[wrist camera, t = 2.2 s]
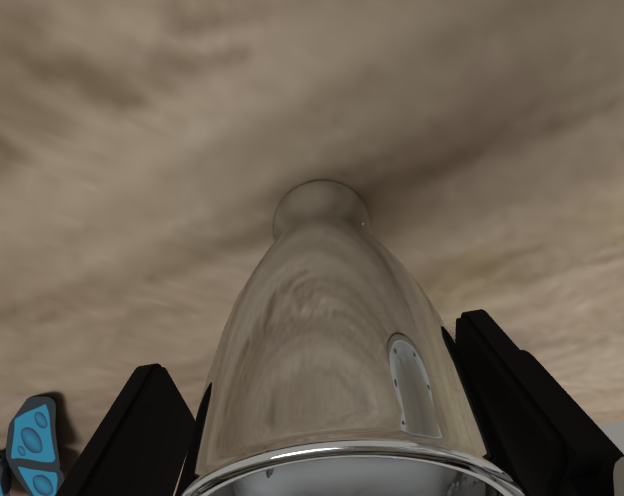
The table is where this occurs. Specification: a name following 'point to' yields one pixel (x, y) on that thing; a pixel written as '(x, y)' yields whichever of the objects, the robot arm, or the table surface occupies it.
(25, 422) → the decorative butterfly
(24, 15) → the table surface
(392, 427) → the beer glass
